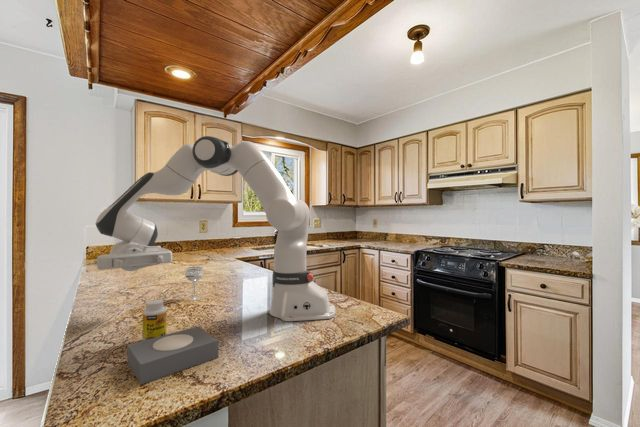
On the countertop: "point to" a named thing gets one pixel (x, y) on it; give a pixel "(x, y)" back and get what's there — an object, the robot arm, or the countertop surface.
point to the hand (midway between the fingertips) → (142, 262)
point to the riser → (170, 353)
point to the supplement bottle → (154, 320)
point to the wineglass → (194, 277)
